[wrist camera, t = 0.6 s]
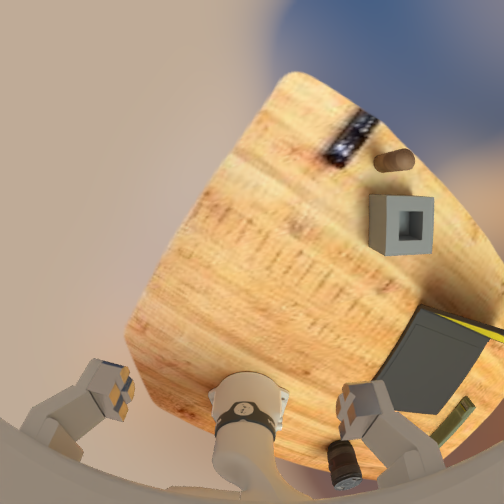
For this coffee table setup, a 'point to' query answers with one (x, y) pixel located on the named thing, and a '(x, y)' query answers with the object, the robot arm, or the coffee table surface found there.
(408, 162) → the walnut peg
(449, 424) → the handheld radio
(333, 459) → the camera lens
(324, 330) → the coffee table surface
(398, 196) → the socket block
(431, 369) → the laptop
